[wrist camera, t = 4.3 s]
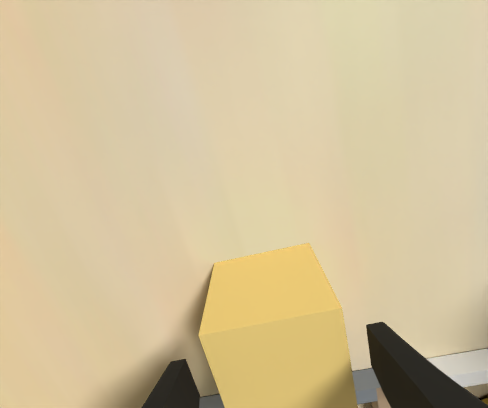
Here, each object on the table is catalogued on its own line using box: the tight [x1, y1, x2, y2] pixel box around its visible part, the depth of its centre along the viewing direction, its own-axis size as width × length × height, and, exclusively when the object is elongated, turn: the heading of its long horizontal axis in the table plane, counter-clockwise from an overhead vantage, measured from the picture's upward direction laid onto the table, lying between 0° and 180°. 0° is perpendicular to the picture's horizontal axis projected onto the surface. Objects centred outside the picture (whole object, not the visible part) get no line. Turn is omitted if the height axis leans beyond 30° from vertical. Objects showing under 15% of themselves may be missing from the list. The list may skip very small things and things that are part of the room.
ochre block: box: [198, 243, 358, 408], centre depth 12 cm, size 5×5×5 cm
